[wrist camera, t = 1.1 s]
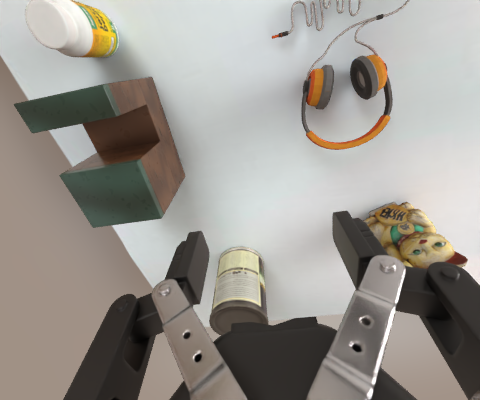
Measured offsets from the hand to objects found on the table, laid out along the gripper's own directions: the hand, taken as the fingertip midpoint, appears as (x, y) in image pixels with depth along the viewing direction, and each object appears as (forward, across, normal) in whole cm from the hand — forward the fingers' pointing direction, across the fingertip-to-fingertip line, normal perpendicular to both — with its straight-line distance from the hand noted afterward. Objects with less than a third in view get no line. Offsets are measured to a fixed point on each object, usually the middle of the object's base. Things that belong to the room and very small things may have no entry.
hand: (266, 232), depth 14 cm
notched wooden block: (+26, +19, -2) cm, 32 cm away
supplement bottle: (+26, +18, -16) cm, 36 cm away
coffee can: (+26, +8, +29) cm, 40 cm away
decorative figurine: (+26, -22, +22) cm, 40 cm away
